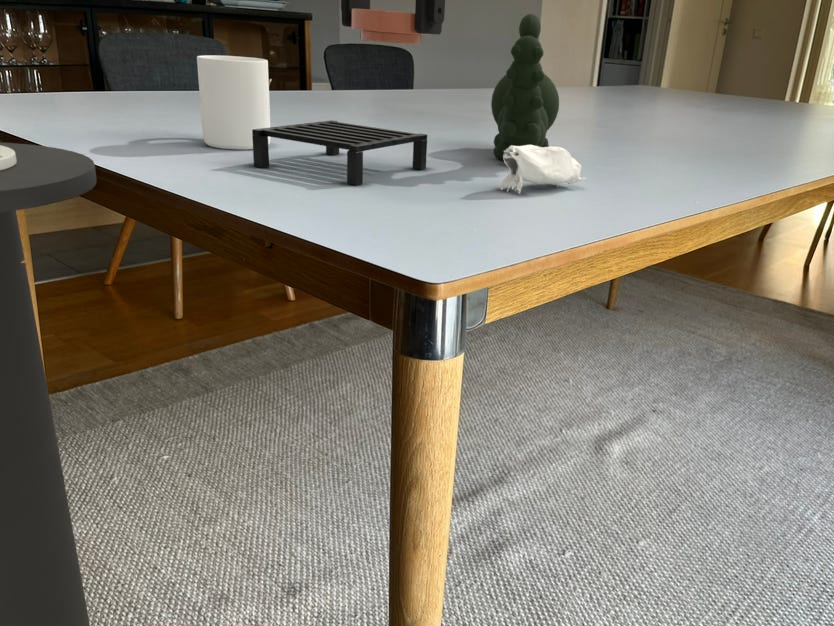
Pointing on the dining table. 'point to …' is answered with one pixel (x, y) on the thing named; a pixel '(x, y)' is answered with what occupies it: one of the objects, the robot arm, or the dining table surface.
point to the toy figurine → (524, 94)
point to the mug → (233, 99)
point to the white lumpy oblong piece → (540, 166)
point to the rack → (340, 143)
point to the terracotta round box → (385, 26)
